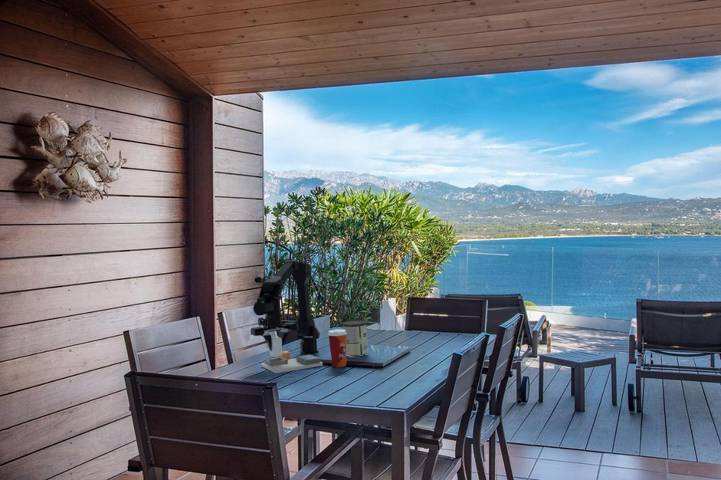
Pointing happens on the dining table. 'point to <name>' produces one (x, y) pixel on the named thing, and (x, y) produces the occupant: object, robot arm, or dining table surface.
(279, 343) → the block
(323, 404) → the dining table surface
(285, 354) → the cable plug
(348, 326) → the coffee can
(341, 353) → the paper cup
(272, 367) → the board
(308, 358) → the grey piece
